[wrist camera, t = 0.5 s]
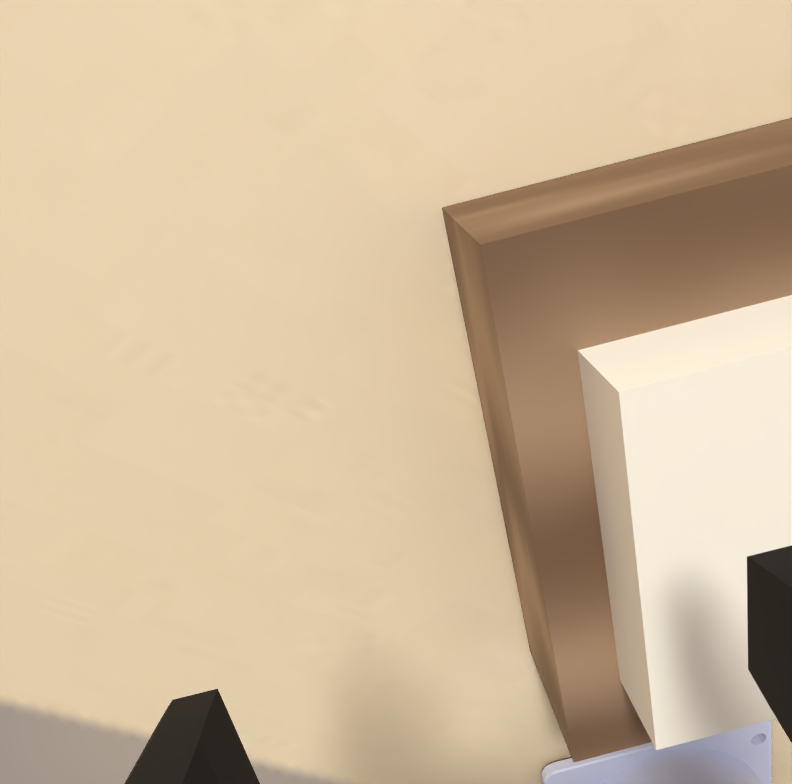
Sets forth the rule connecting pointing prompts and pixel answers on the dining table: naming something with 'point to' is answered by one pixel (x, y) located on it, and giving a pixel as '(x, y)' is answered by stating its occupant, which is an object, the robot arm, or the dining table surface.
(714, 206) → the brown wooden block
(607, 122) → the dining table surface
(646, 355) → the block
